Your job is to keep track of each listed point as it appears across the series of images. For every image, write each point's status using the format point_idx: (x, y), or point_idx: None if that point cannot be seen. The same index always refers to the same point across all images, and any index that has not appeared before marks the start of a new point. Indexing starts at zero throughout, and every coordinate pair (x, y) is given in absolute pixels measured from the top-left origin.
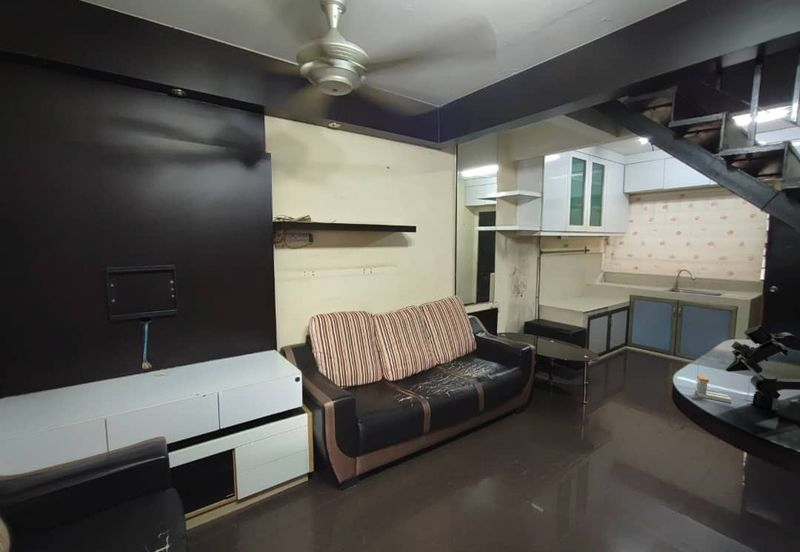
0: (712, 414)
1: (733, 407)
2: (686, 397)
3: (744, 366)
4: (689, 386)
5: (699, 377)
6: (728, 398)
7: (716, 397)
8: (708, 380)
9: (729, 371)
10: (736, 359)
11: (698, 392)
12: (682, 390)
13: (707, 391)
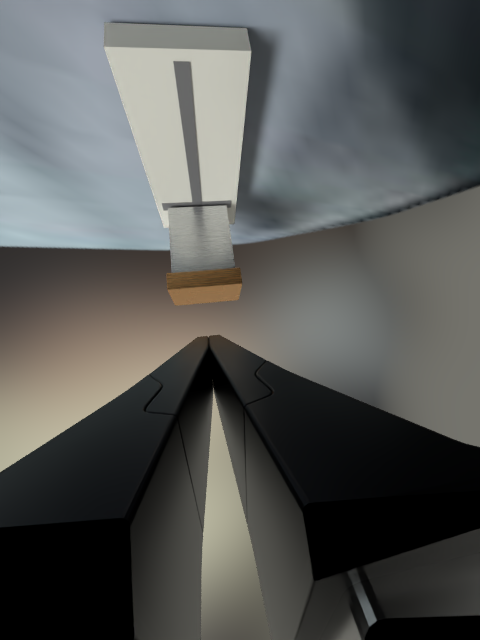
0: (432, 194)
1: (349, 45)
2: (267, 238)
3: (347, 532)
4: (72, 220)
5: (219, 301)
6: (233, 75)
7: (239, 154)
8: (240, 281)
9: (226, 339)
10: (199, 620)
11: None
12: None
13: (162, 188)
